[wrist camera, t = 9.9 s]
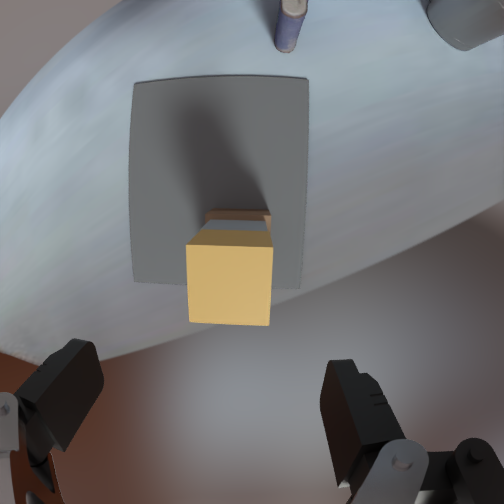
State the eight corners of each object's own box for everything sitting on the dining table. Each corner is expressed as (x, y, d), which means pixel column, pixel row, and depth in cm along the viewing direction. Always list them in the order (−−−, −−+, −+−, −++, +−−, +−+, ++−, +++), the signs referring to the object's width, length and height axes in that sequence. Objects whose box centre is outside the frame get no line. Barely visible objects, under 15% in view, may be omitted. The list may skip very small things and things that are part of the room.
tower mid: (210, 219, 26) (200, 229, 21) (265, 220, 26) (267, 231, 21) (210, 271, 27) (201, 291, 22) (263, 273, 27) (264, 294, 22)
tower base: (213, 208, 31) (205, 213, 26) (268, 209, 31) (271, 215, 26) (213, 261, 32) (205, 276, 27) (266, 263, 32) (268, 278, 27)
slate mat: (135, 85, 27) (134, 84, 27) (308, 80, 27) (308, 79, 27) (135, 280, 33) (134, 281, 33) (299, 287, 33) (299, 289, 33)
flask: (293, 56, 26) (308, 8, 16) (268, 50, 26) (272, 0, 16) (308, 3, 24) (324, -48, 14) (285, -3, 24) (294, -55, 14)
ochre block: (201, 229, 21) (185, 244, 16) (269, 231, 21) (273, 247, 16) (202, 291, 22) (189, 321, 17) (266, 294, 22) (268, 325, 17)
